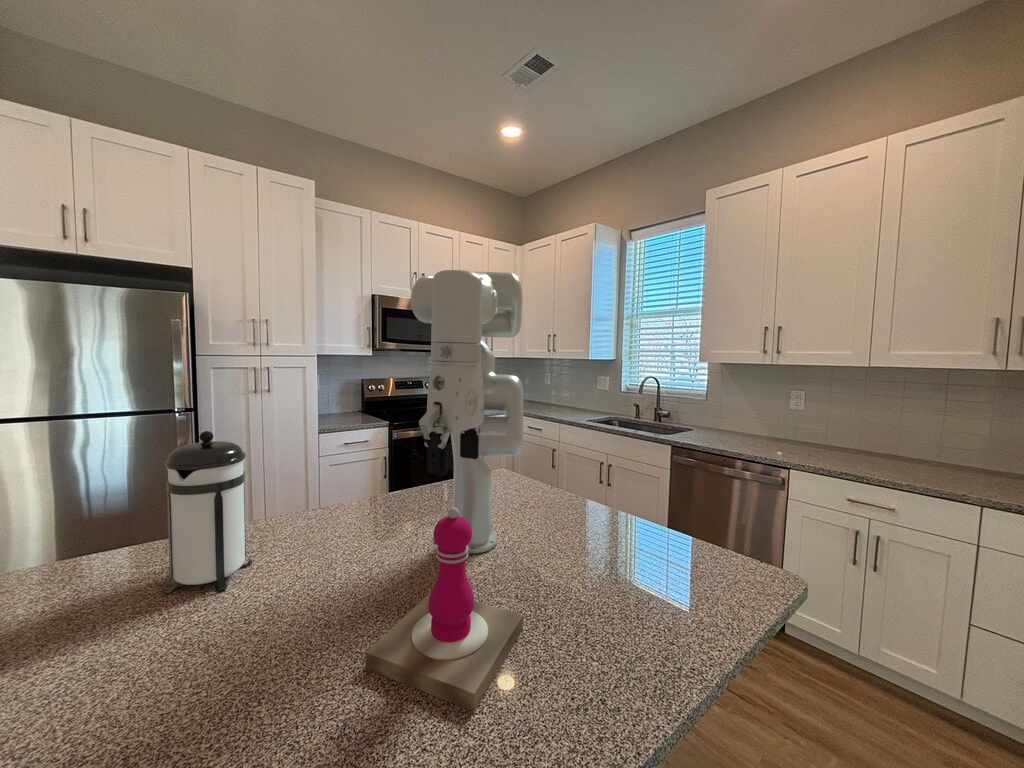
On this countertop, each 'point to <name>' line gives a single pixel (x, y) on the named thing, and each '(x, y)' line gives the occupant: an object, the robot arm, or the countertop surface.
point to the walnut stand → (447, 653)
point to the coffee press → (205, 512)
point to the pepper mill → (451, 580)
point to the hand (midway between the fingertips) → (454, 465)
